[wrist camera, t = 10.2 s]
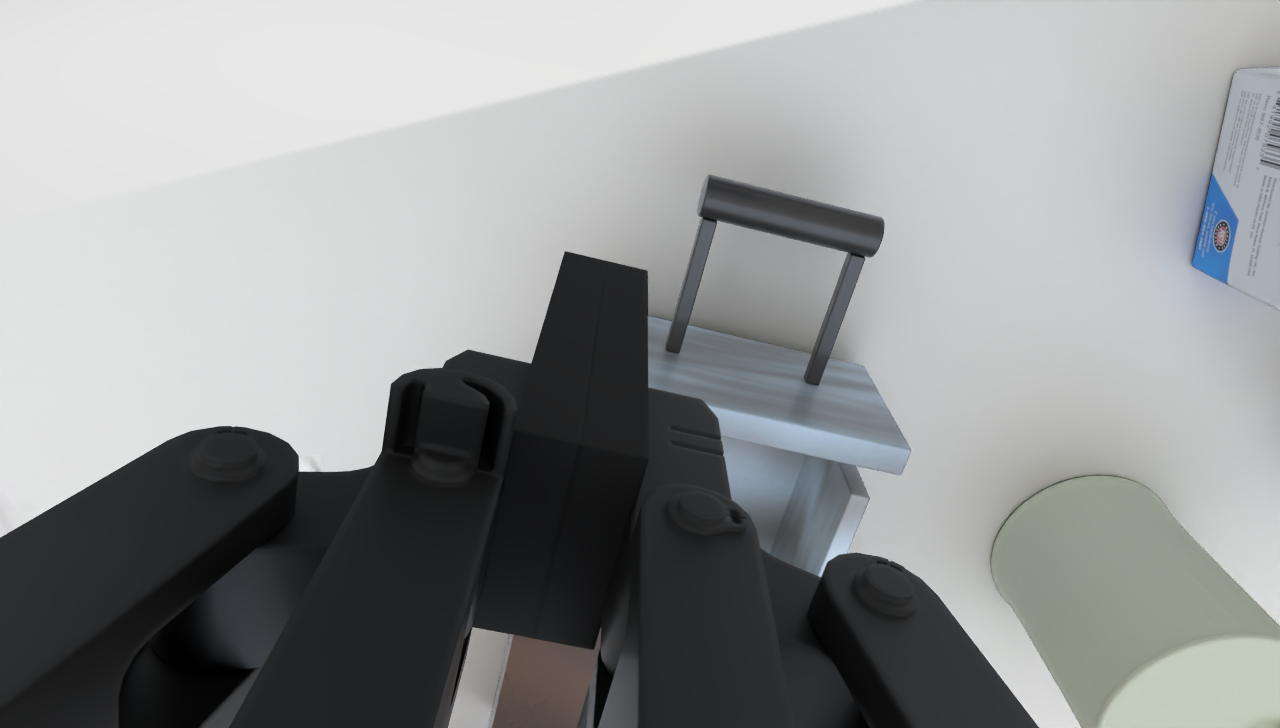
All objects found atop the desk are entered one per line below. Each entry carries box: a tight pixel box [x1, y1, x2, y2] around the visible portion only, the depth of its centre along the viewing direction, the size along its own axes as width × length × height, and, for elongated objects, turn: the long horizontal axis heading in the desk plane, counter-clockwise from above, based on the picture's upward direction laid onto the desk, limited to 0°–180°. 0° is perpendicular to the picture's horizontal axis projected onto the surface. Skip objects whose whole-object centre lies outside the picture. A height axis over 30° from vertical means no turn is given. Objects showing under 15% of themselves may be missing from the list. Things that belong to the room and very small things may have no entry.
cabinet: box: [488, 624, 602, 728], centre depth 42 cm, size 16×14×10 cm
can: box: [991, 476, 1280, 728], centre depth 39 cm, size 9×9×12 cm
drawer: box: [648, 175, 911, 577], centre depth 37 cm, size 22×12×8 cm, turn 166°
